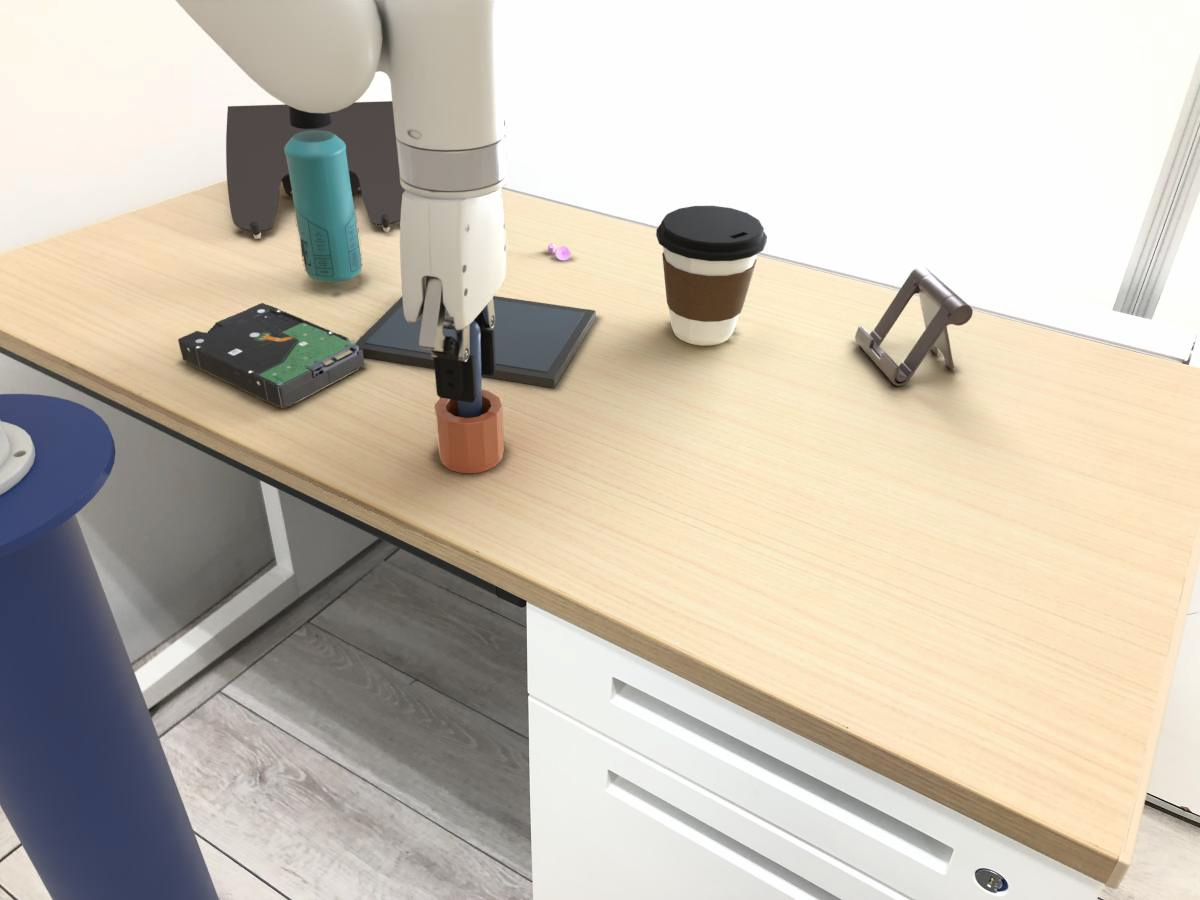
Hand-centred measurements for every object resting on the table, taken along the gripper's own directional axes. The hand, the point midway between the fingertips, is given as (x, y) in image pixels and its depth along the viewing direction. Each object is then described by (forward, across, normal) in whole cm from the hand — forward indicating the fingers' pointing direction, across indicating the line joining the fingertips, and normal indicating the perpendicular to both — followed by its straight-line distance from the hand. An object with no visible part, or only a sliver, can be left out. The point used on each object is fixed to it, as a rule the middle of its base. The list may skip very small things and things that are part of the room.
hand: (467, 382), depth 78 cm
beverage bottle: (+7, -27, -27) cm, 39 cm away
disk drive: (+7, -8, -24) cm, 26 cm away
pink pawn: (+7, -42, -5) cm, 43 cm away
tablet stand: (+7, -28, +36) cm, 46 cm away
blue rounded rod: (+7, 0, 0) cm, 7 cm away
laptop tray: (+7, -47, -39) cm, 62 cm away
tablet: (+7, -20, -7) cm, 22 cm away
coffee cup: (+7, -28, +15) cm, 33 cm away
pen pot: (+7, 0, 0) cm, 7 cm away
